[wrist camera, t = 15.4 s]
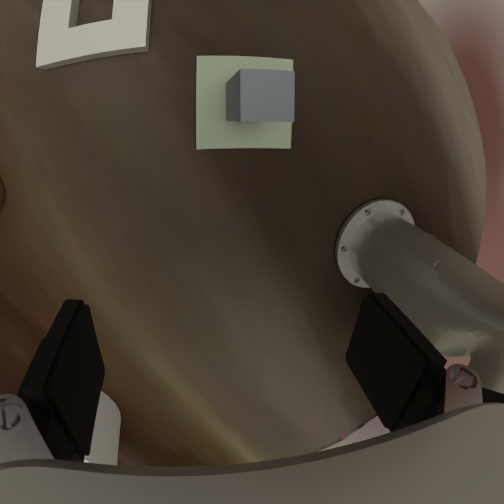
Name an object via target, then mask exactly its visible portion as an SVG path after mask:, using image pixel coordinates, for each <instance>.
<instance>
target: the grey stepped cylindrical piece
mask: <svg viewBox="0 0 504 504" xmlns="http://www.w3.org/2000/svg"><path fill="white" fill-rule="evenodd" d="M120 424H121V415H120V411H119V409H118V407H117V405H116V404H115V403H114V402H113V401H112V400H111V398H110V397H109V396H107V395H106V394H105V393H103V392H102V391H101V394H100V399H99V404H98V409H97V414H96V419H95V425H94V431H93V437H92V443H91V450H90V454H89V455H88V456H86V455H85V457H84V462H89V463H98V464H109V465H117V456H118V444H119V433H120Z"/></svg>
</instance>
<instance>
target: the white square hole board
mask: <svg viewBox="0 0 504 504" xmlns="http://www.w3.org/2000/svg"><path fill="white" fill-rule="evenodd" d="M79 2H80V0H43V6H42V12H41V19H40V27H39V36H38V46H37V59H36V67H37V68H41V69H45V70H47V69H50V68H54V67H58V66H63V65H67V64H71V63H76V62H81V61H86V60H91V59H97V58H102V57H109V56H115V55H122V54H130V53H138V52H148V51H149V36H150V20H151V6H152V0H114V4H113V13H112V19H111V20H105V21H100V22H95V23H90V24H85V25H80V26H77V17H78V9H79Z"/></svg>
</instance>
